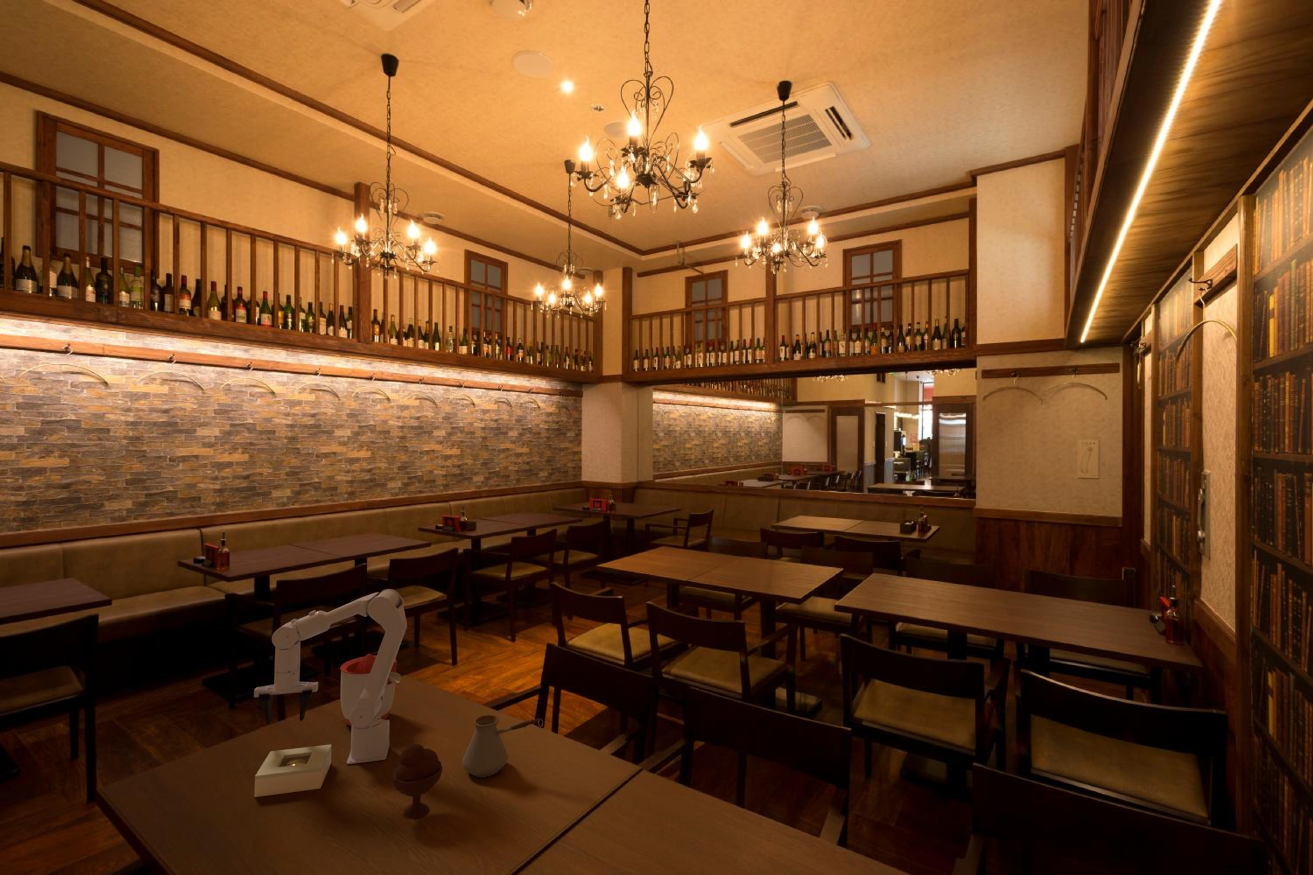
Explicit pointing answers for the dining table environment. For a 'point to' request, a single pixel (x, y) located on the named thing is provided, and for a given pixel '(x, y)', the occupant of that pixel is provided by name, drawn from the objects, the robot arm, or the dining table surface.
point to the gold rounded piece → (295, 762)
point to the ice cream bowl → (416, 776)
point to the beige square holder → (293, 770)
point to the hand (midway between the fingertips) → (285, 720)
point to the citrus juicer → (364, 684)
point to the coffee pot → (488, 746)
